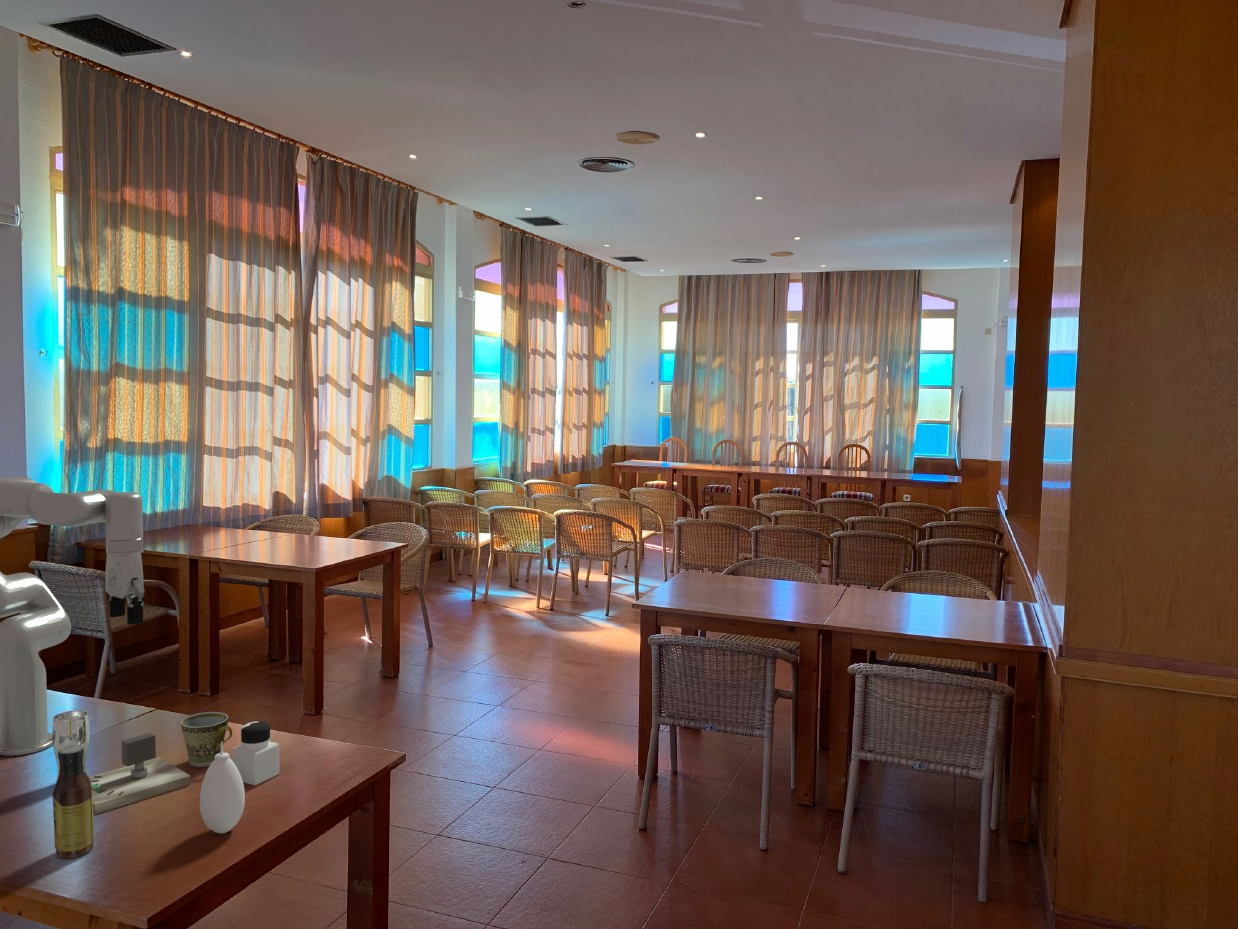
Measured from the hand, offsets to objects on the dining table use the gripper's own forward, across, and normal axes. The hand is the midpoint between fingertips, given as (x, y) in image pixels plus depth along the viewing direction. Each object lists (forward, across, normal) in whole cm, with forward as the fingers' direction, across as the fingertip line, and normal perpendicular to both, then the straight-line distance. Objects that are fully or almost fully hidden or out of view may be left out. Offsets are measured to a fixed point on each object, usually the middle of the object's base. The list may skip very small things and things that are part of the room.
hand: (126, 620), depth 209 cm
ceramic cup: (+32, +17, +11) cm, 38 cm away
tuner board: (+32, +18, -7) cm, 38 cm away
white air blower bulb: (+32, +51, -3) cm, 61 cm away
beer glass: (+32, +6, -14) cm, 36 cm away
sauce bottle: (+32, +39, -25) cm, 57 cm away
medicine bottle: (+32, +32, +14) cm, 48 cm away
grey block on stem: (+30, +18, -7) cm, 36 cm away
